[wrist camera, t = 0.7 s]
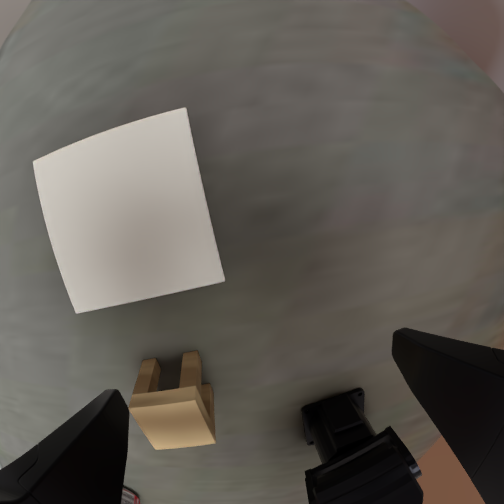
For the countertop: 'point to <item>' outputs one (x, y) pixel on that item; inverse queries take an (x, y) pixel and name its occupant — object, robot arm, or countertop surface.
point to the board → (129, 213)
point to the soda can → (129, 497)
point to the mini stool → (174, 406)
